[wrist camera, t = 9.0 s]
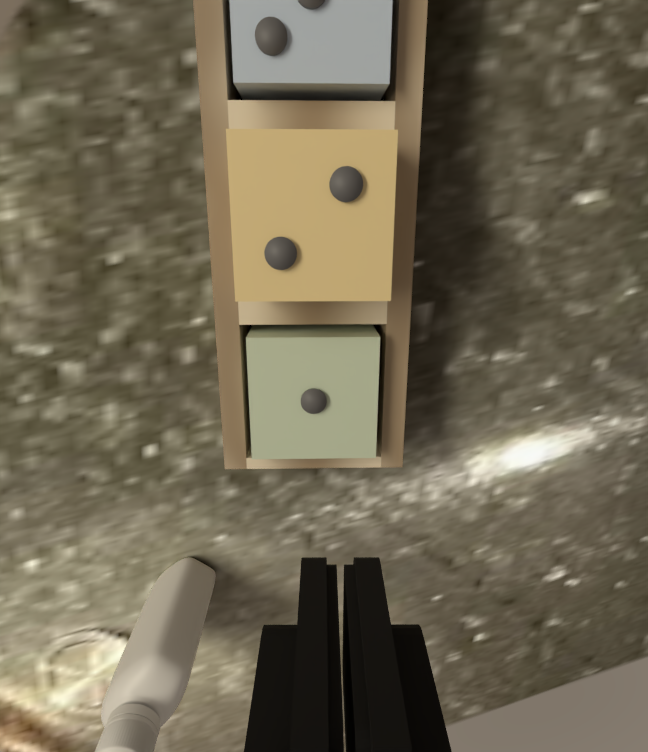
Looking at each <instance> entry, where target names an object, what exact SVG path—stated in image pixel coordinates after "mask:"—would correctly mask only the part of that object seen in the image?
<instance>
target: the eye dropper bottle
mask: <svg viewBox="0 0 648 752" xmlns="http://www.w3.org/2000/svg"><path fill="white" fill-rule="evenodd" d="M215 579H216V574H215V571H214V570H213V569H212V568H210V567H209V566H207V565H205V564H203V563H202V562H200V561H198V560H196V559H194V558H191V557H187V558H183V559H181V560H179V561H178V562H176V563H174V564H173V565H172V566H170V567H169V568H168V569H167V570H165V571H164V572H163V573H162V574H161V575H160V577H159V578H158V579H157V580H156V582H155V583H154V585H153V587H152V588H151V590H150V592H149V595H148V597H147V599H146V601H145V604H144V606H143V608H142V611H141V613H140V615H139V617H138V620H137V622H136V624H135V627H134V629H133V631H132V634H131V636H130V638H129V640H128V643H127V645H126V647H125V650H124V652H123V654H122V657H121V659H120V661H119V664H118V666H117V668H116V670H115V673H114V675H113V677H112V680H111V682H110V684H109V687H108V689H107V692H106V694H105V697H104V701H103V704H102V711H101V719H102V723H103V726H104V727H105V728H104V730H103V733H102V735H101V738H100V740H99V743H98V745H97V748H96V750H95V752H153V751H154V747H155V744H156V741H157V737H158V734H159V730H160V727H161V726H162V725H163V724H164V723H165V722H166V721H167V720H168V719H169V718H170V717H171V715H172V714H173V713H174V711H175V710H176V708H177V707H178V705H179V703H180V701H181V699H182V697H183V695H184V692H185V690H186V687H187V684H188V681H189V677H190V674H191V670H192V667H193V663H194V660H195V656H196V652H197V649H198V645H199V641H200V637H201V634H202V630H203V626H204V623H205V619H206V615H207V611H208V608H209V604H210V600H211V596H212V592H213V589H214V585H215Z"/></svg>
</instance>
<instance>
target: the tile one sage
mask: <svg viewBox="0 0 648 752" xmlns="http://www.w3.org/2000/svg"><path fill="white" fill-rule="evenodd" d="M246 351H247V371H248V392H249V412H250V433H251V453H252V459H329V458H376V442H377V414H378V387H379V359H380V336H379V334H378V332H377V331H376V329H375V327H374V326H373V324H304V325H253V326H252V328H251V329H250V331H249V333H248V335H247V337H246Z"/></svg>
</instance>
